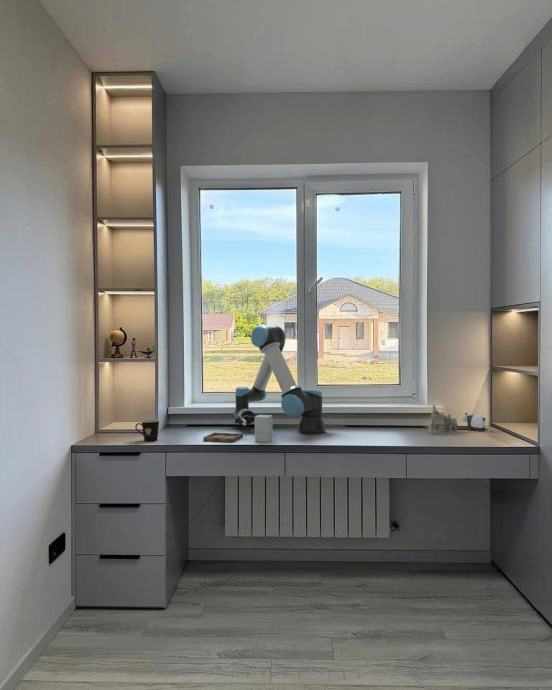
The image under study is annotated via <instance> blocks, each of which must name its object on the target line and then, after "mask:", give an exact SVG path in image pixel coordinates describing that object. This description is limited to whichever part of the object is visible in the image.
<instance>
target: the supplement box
mask: <svg viewBox="0 0 552 690" xmlns="http://www.w3.org/2000/svg"><path fill="white" fill-rule="evenodd" d="M257 415H258V416H255V417H254V418H255V422H254V442H255V441H264V442H263V443H269V441H270V442H271V441H273V440H272V439H274V438H273V436H274V435H273V428H274V427H273V415H271V414H270V415H269V414H257Z"/></svg>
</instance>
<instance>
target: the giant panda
mask: <svg viewBox="0 0 552 690" xmlns="http://www.w3.org/2000/svg"><path fill="white" fill-rule="evenodd" d="M459 420H461V421H462V422H465V423H466V424H467V429H466V431H469V432H470V431H471V432H472V431H474V430H475V428H478V430H477V432H478V433H479V432H480V433H482V432H485V430H486V424H487V423H486V421H487V420H486V417H484V416H483V415H479V414H474V415H473V414H469V415H468V412H465V413H463V414H462V415H461V416H459Z"/></svg>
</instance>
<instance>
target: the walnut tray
mask: <svg viewBox="0 0 552 690" xmlns="http://www.w3.org/2000/svg"><path fill="white" fill-rule="evenodd" d="M242 437H243V438H244V434H243V433H233V432H217V431H216V432H213V433H209V434H208V435H205V436H203V442H209V441H211V442H212V443H228V442H234V443H236V442H237V441H236V440H238V439H239V440H241V439H243V438H242ZM240 438H241V439H240ZM239 440H238V441H239ZM235 441H236V442H235Z"/></svg>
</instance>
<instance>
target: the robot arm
mask: <svg viewBox="0 0 552 690" xmlns="http://www.w3.org/2000/svg"><path fill="white" fill-rule="evenodd" d="M250 341H251V343H252V345H253V346H255V347H257V348H258V349H259V351H260V353H261V354H263V355H264V356H263V359H262V361H261V364H260V367H259V369H258V372H257V375H256V377H255V380H254V382H253V385H252V387H251V388H249V387H248V386H237V387H236V388H235V409H234V410H233V415H234V422H235V424H238V425H239V426H241V425H243V426H247V425H250V424H252V423H255V418H254V417H255V416H258V415H259V414H255V413H254V412H253V411H252V410H250V409H249V404H250V403H253V402H260V401H263V400H265V399H266V397H267V391H266V388H267V385H268V383H269V380H270V378H271V375H272V373H273V375H274V377H275V379H276V381H277V384H278V386H279V388H280V390H281V395H280V396H281V404H280V406H281V409H282V411H283V413H285V414H286V415H287V416H289V417H300V420H299V422H298V425H297V426H298V427H297V432H298V433H300V434H307V435H308V434H309V435H313V434H317V435H319V434H324V433H326V426H325V423H324V419H323V393H322V391H321V390H314V389H313V390H312V389H302V387H301V386H299V385H297V383H296V381H295V378H294V376H293V374H292V373H291V370H290V368H289V366H288V364H287V361H286V359H285V357H284V355H283V353H282V352H283V350H284V347H285V344H286V334H285V331H284V329H283V328H282V327H280V326H279V325H278V326H277V325H265V324H262V325H257V326H255V327H254V328H253V329H252V331H251V334H250Z"/></svg>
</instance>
